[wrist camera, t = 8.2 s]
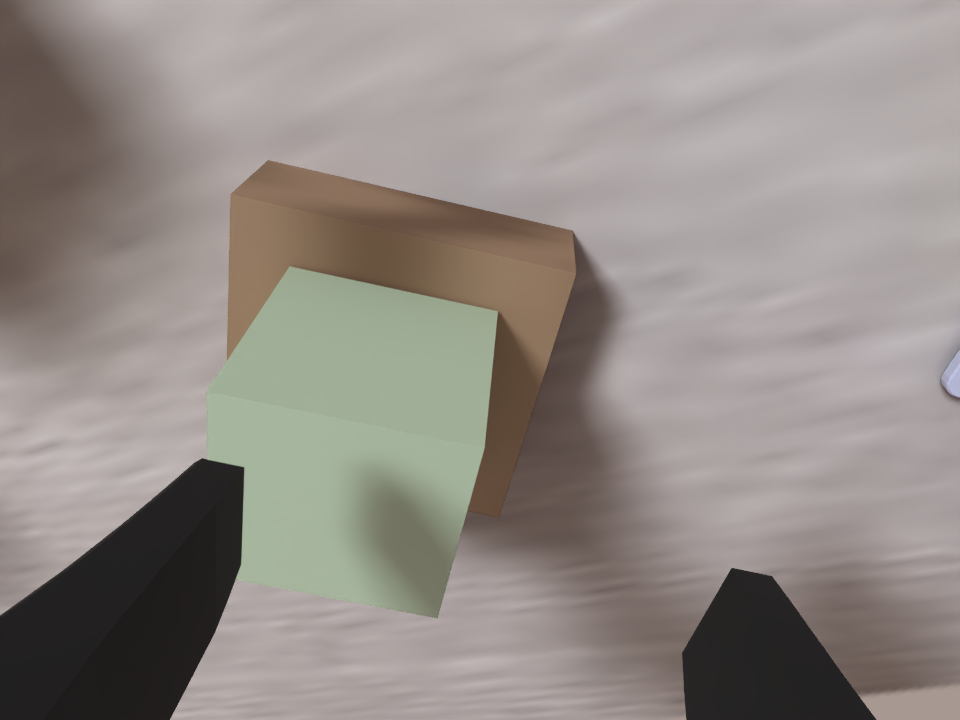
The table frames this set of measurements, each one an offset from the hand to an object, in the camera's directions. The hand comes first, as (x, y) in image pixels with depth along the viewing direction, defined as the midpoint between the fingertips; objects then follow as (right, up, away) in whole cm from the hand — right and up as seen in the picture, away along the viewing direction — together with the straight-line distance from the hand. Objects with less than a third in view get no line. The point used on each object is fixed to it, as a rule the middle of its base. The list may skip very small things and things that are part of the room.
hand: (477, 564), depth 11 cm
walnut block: (-2, +4, +10) cm, 11 cm away
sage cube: (-3, +3, +8) cm, 9 cm away
